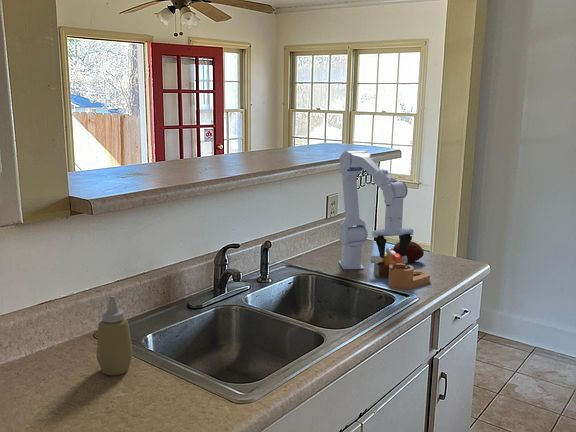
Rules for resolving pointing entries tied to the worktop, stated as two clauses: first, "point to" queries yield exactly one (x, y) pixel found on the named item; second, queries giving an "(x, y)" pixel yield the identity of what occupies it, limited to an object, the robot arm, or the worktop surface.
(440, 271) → the worktop surface
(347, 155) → the robot arm
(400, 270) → the bracket
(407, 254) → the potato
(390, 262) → the brass valve
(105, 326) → the squeeze bottle
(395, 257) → the valve lever
